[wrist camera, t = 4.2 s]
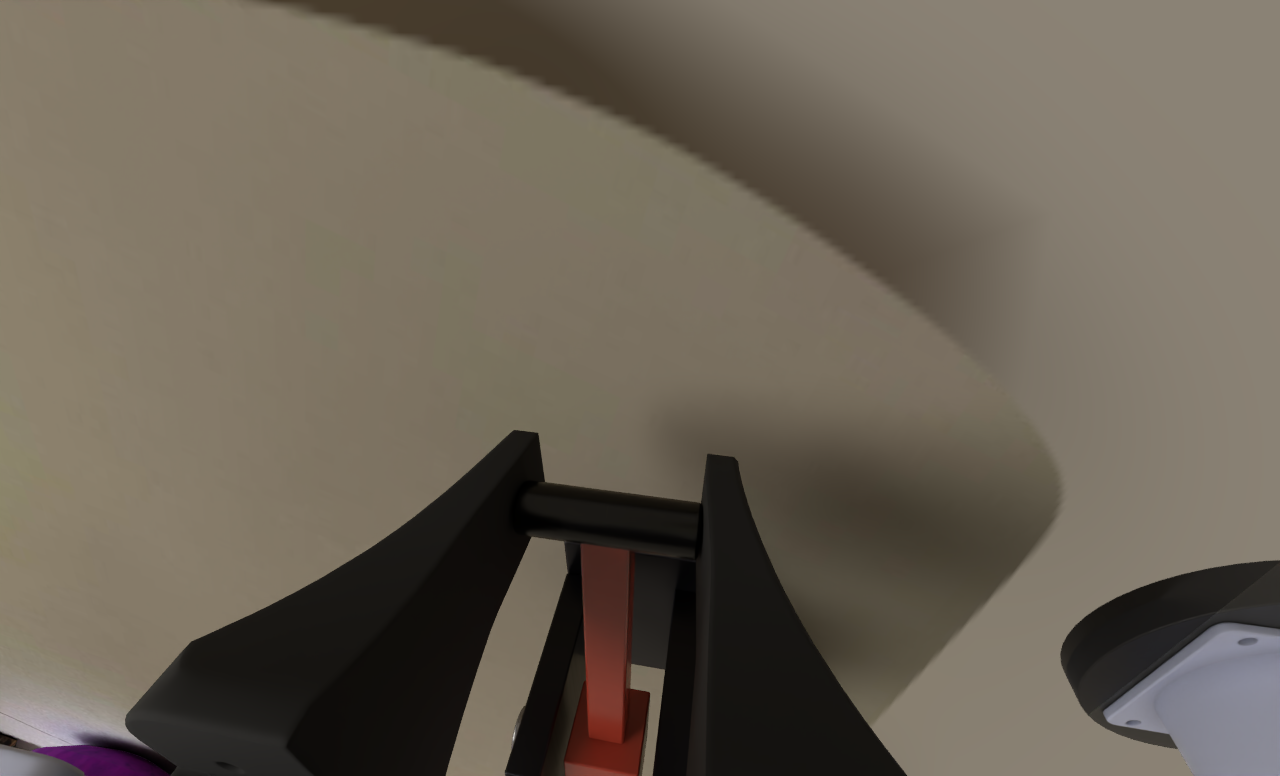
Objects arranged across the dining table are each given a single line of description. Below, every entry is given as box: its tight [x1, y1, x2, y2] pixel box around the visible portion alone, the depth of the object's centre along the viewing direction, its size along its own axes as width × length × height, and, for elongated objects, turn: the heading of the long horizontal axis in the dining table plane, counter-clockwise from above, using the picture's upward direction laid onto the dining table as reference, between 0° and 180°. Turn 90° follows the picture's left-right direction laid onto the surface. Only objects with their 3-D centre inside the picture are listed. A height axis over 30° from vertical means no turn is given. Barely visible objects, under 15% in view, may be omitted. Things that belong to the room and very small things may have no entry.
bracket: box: [505, 541, 696, 776], centre depth 18 cm, size 8×6×8 cm
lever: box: [513, 480, 703, 776], centre depth 14 cm, size 12×4×2 cm, turn 179°
